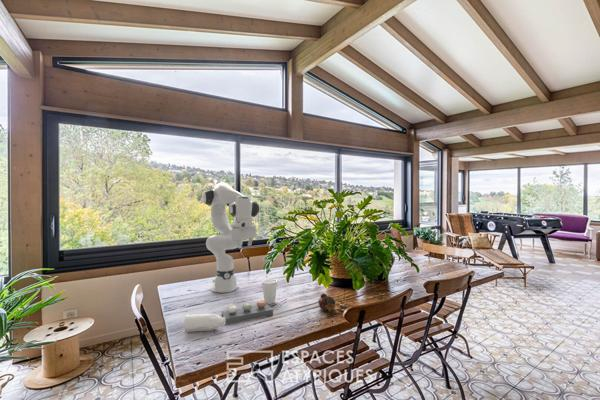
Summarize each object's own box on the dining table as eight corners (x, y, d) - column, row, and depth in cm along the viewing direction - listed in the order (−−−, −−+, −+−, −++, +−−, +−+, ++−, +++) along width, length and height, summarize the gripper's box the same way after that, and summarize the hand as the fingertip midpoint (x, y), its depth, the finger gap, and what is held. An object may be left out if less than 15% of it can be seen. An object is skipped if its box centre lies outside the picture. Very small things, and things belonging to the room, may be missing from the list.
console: (221, 317, 155) (221, 311, 155) (266, 308, 166) (266, 303, 166) (225, 324, 146) (225, 318, 146) (272, 314, 157) (272, 309, 157)
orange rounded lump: (256, 309, 160) (256, 301, 160) (264, 308, 162) (263, 299, 162) (258, 312, 156) (258, 304, 156) (266, 311, 158) (266, 302, 158)
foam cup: (260, 300, 179) (260, 279, 179) (274, 298, 182) (274, 278, 182) (264, 305, 170) (264, 284, 170) (279, 303, 174) (278, 282, 173)
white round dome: (227, 315, 153) (227, 306, 153) (236, 313, 155) (235, 305, 155) (229, 318, 149) (229, 309, 149) (238, 316, 151) (238, 307, 151)
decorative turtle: (328, 303, 172) (328, 291, 172) (340, 315, 158) (341, 301, 157) (313, 305, 169) (314, 292, 168) (324, 317, 154) (325, 303, 154)
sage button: (242, 312, 157) (242, 303, 157) (250, 310, 159) (250, 302, 159) (244, 315, 153) (244, 306, 153) (252, 313, 155) (252, 305, 155)
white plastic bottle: (223, 333, 137) (223, 317, 137) (183, 335, 135) (183, 318, 135) (226, 325, 145) (226, 310, 145) (188, 327, 143) (188, 311, 143)
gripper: (250, 221, 176) (250, 244, 176) (229, 224, 158) (229, 249, 158) (258, 221, 174) (259, 244, 174) (238, 224, 155) (239, 250, 155)
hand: (245, 247), depth 165 cm, fingers open, 8 cm apart
